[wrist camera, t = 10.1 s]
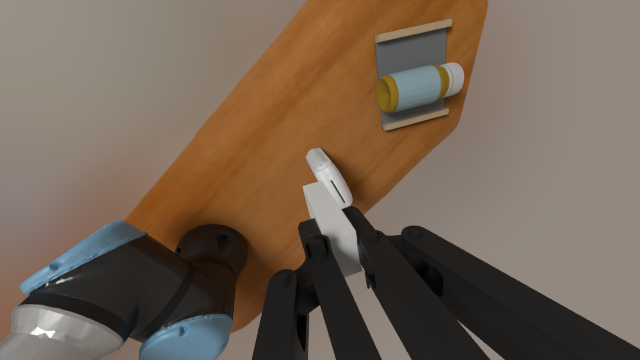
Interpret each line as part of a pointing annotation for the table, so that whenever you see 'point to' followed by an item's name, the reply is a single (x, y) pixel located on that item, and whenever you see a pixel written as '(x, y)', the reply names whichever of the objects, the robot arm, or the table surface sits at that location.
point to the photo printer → (329, 177)
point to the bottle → (418, 86)
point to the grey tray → (412, 65)
